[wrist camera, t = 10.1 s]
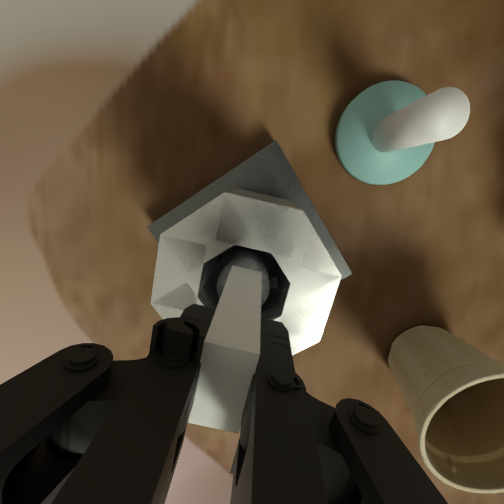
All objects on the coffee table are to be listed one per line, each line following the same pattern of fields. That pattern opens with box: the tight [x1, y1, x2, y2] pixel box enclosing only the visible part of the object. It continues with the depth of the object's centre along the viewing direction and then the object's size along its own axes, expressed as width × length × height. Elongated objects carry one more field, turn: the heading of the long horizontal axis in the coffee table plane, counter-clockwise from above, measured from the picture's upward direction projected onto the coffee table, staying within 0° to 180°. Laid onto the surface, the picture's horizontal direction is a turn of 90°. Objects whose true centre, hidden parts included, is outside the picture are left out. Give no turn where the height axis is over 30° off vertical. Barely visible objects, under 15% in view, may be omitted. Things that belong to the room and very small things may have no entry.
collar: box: [151, 188, 342, 355], centre depth 17 cm, size 9×9×6 cm
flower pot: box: [388, 325, 504, 493], centre depth 21 cm, size 9×9×9 cm
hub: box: [147, 140, 352, 305], centre depth 19 cm, size 12×12×9 cm
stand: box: [335, 80, 470, 185], centre depth 17 cm, size 7×7×8 cm
